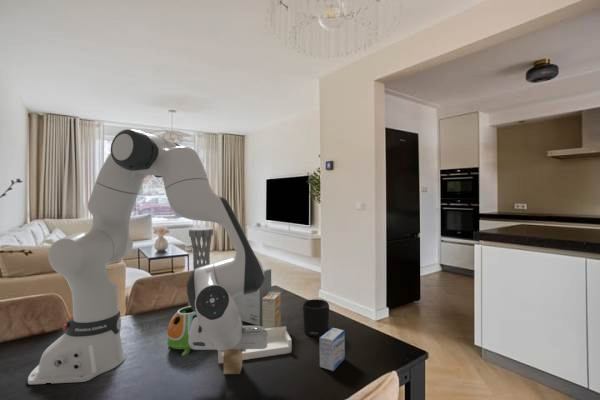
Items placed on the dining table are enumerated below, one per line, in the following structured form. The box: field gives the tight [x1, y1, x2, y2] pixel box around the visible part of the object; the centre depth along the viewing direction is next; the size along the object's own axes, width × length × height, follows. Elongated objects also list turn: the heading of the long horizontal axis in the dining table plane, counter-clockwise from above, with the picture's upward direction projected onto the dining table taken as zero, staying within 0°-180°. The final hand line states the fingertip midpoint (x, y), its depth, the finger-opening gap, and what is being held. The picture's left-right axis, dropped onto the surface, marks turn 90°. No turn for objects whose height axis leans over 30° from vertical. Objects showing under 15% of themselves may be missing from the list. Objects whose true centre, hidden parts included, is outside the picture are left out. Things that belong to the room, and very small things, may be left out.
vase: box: [187, 226, 214, 307], centre depth 130 cm, size 14×13×35 cm
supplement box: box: [262, 291, 282, 329], centre depth 111 cm, size 8×5×13 cm, turn 168°
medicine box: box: [319, 327, 346, 372], centre depth 90 cm, size 8×4×9 cm, turn 148°
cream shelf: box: [217, 325, 293, 364], centre depth 96 cm, size 22×8×5 cm, turn 106°
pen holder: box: [302, 298, 330, 338], centre depth 110 cm, size 9×9×10 cm
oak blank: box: [223, 349, 243, 375], centre depth 86 cm, size 4×4×10 cm
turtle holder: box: [166, 305, 197, 357], centre depth 103 cm, size 12×18×12 cm
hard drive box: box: [233, 267, 272, 326], centre depth 122 cm, size 16×8×20 cm, turn 58°
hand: (233, 348), depth 87 cm, fingers closed on oak blank, 4 cm apart
